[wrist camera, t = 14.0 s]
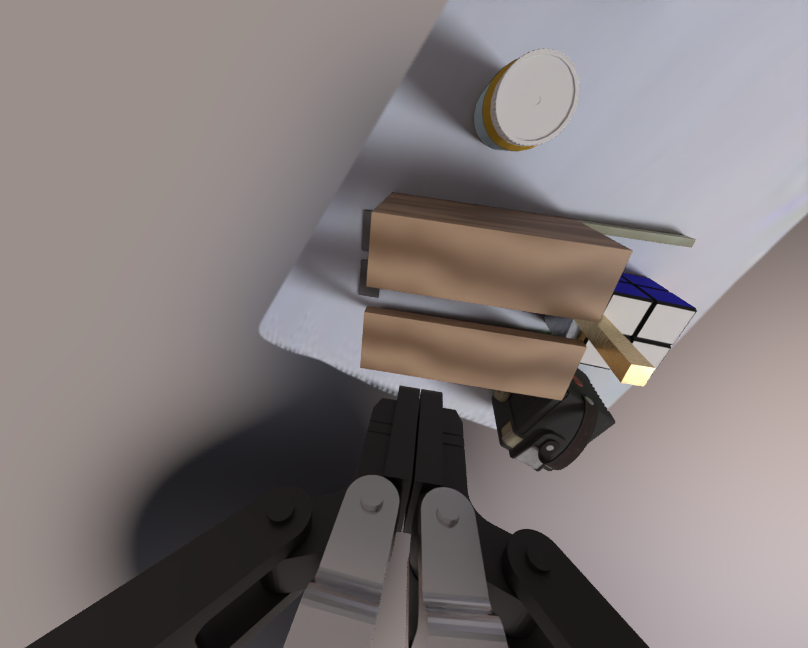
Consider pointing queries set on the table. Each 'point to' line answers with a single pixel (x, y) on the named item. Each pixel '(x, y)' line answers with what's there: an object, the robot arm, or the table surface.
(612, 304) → the puzzle cube
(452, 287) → the wooden plank structure
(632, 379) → the wooden square rod
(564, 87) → the bottle
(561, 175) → the table surface
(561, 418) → the camera
